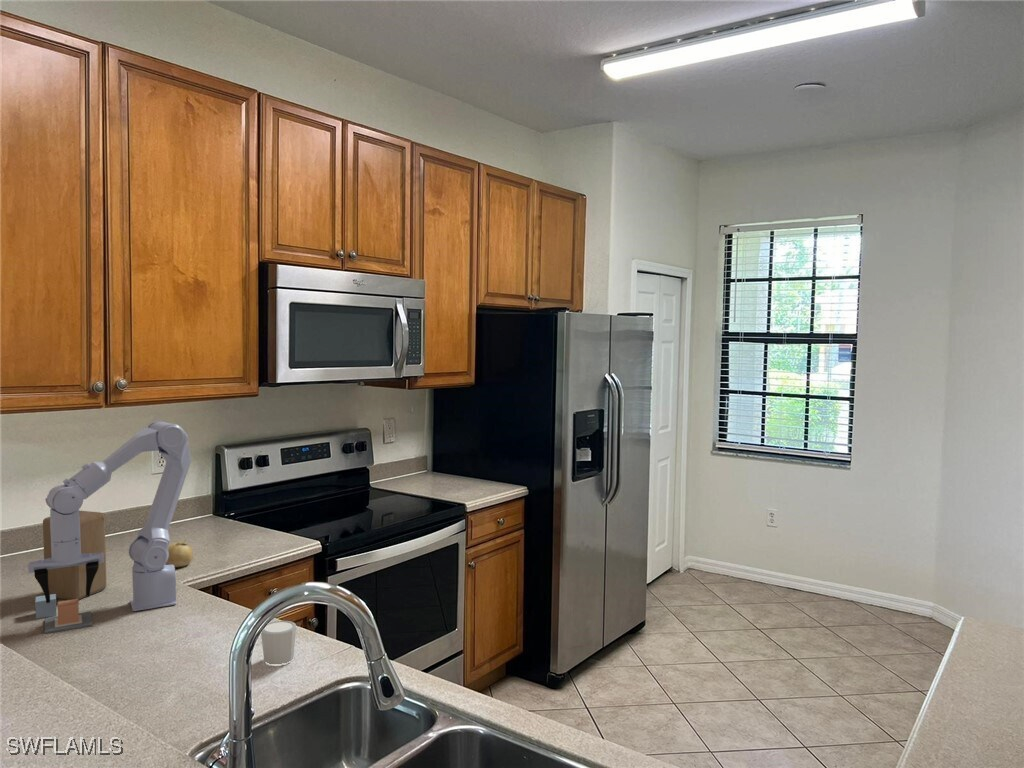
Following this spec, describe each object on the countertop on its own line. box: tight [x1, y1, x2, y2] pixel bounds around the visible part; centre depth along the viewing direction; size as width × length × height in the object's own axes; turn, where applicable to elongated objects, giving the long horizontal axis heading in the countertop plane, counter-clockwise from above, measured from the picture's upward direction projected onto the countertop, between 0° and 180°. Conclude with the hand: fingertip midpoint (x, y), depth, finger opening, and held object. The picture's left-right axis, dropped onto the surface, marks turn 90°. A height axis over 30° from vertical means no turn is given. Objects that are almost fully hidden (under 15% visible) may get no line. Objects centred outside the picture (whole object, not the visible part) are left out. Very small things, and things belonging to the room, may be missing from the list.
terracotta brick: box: [57, 599, 80, 625], centre depth 170 cm, size 4×4×4 cm
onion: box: [165, 539, 194, 568], centre depth 211 cm, size 8×8×7 cm
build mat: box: [44, 610, 93, 634], centre depth 170 cm, size 9×9×1 cm
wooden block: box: [42, 510, 108, 601], centre depth 188 cm, size 10×10×20 cm
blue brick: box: [34, 594, 57, 620], centre depth 174 cm, size 4×4×4 cm
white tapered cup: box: [260, 620, 297, 664], centre depth 151 cm, size 7×7×7 cm
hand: (68, 598), depth 169 cm, fingers open, 7 cm apart
